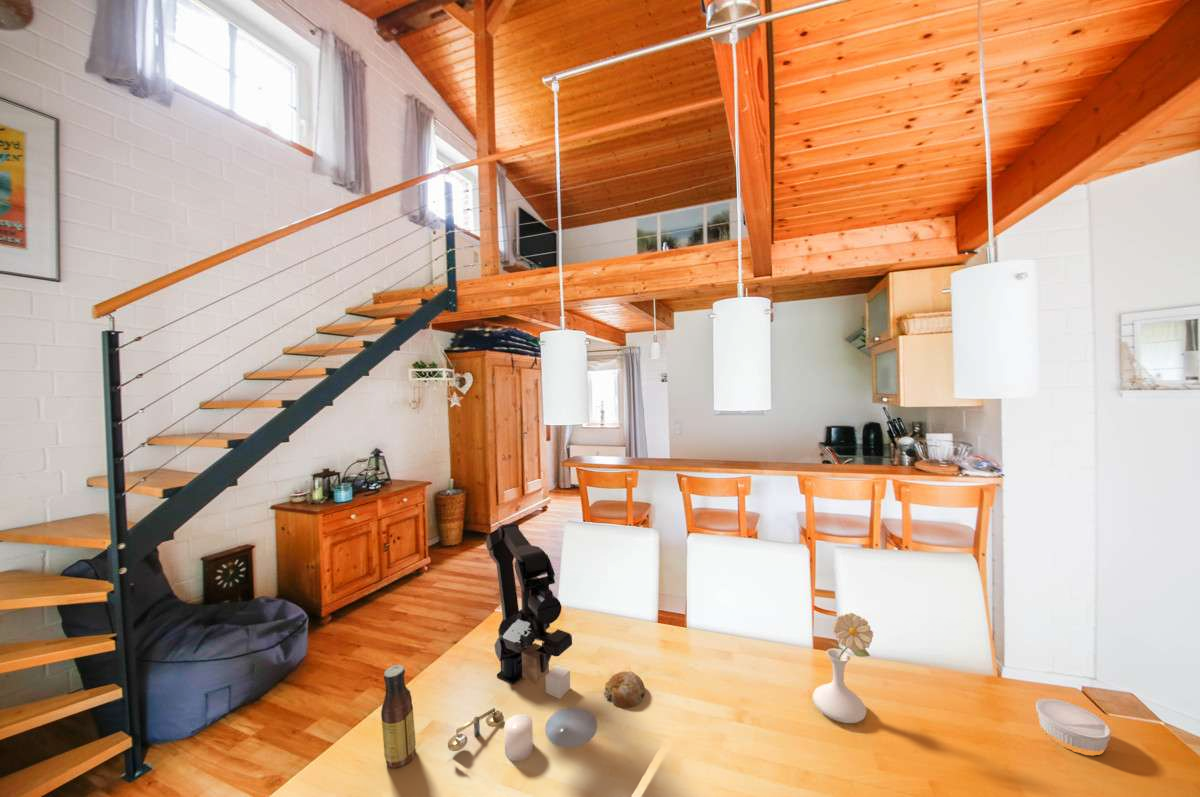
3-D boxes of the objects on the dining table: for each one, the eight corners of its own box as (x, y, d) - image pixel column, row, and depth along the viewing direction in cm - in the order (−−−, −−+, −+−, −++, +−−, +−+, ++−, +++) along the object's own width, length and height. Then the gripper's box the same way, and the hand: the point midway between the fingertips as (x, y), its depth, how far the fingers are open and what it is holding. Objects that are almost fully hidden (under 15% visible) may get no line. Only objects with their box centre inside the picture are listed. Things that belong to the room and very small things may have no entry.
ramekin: (1100, 770, 88) (1100, 745, 88) (1026, 732, 98) (1026, 709, 98) (1118, 748, 93) (1119, 723, 93) (1046, 713, 103) (1047, 691, 103)
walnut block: (522, 677, 104) (521, 652, 104) (535, 666, 108) (534, 642, 108) (536, 683, 102) (535, 658, 102) (549, 672, 106) (548, 648, 106)
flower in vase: (806, 712, 105) (804, 610, 104) (820, 687, 113) (819, 592, 113) (868, 741, 96) (867, 630, 95) (879, 712, 105) (878, 609, 104)
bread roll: (635, 729, 106) (648, 702, 105) (597, 706, 108) (610, 679, 107) (639, 700, 116) (652, 674, 115) (605, 680, 117) (617, 655, 116)
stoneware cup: (498, 759, 94) (497, 728, 94) (518, 738, 100) (517, 709, 99) (520, 772, 91) (519, 740, 90) (540, 750, 96) (539, 720, 96)
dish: (534, 738, 99) (534, 733, 99) (566, 705, 109) (565, 700, 109) (577, 761, 93) (577, 756, 93) (606, 724, 103) (606, 719, 103)
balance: (494, 715, 107) (494, 690, 106) (506, 721, 104) (506, 696, 104) (444, 760, 94) (443, 732, 94) (456, 768, 92) (455, 740, 92)
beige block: (546, 697, 113) (545, 674, 112) (556, 686, 116) (556, 664, 116) (559, 703, 110) (559, 680, 110) (570, 692, 114) (569, 670, 114)
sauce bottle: (407, 741, 100) (404, 655, 99) (421, 755, 96) (418, 666, 95) (378, 760, 94) (374, 671, 94) (391, 776, 91) (387, 683, 90)
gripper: (481, 609, 103) (483, 674, 103) (541, 631, 93) (543, 703, 93) (514, 590, 112) (516, 650, 113) (572, 608, 102) (574, 674, 102)
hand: (535, 668), depth 105 cm, fingers closed on walnut block, 4 cm apart
